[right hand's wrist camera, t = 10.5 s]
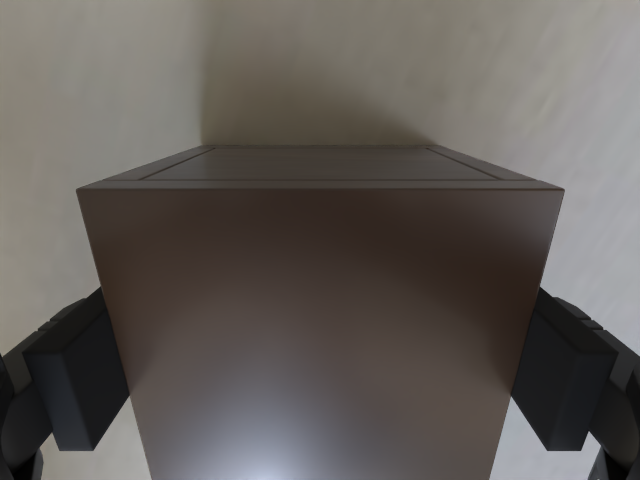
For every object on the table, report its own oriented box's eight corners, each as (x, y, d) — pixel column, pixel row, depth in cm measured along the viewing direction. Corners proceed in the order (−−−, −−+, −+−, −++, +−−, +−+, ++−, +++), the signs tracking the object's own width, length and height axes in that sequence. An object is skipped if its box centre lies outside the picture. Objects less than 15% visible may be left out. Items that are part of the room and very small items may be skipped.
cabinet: (406, 426, 20) (455, 610, 13) (234, 426, 20) (185, 609, 13) (441, 145, 15) (566, 188, 7) (199, 145, 15) (73, 188, 7)
